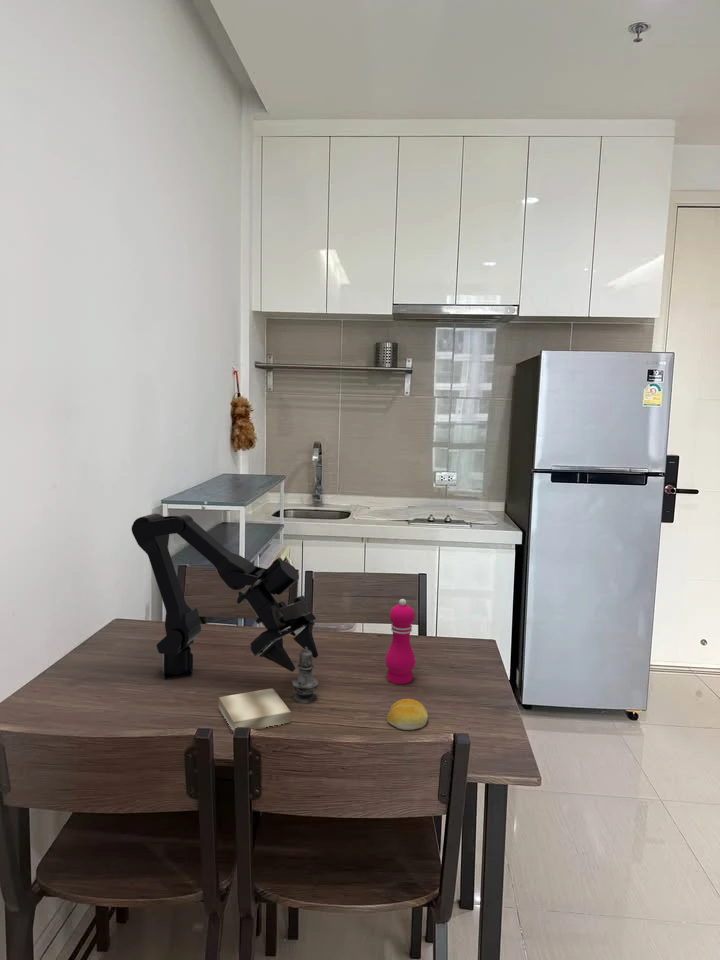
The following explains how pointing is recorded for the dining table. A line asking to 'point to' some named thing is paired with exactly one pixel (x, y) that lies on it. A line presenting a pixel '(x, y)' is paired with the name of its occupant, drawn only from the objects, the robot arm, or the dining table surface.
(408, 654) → the pepper mill
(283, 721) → the plate
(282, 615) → the robot arm
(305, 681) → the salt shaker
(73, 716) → the dining table surface
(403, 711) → the bread roll
